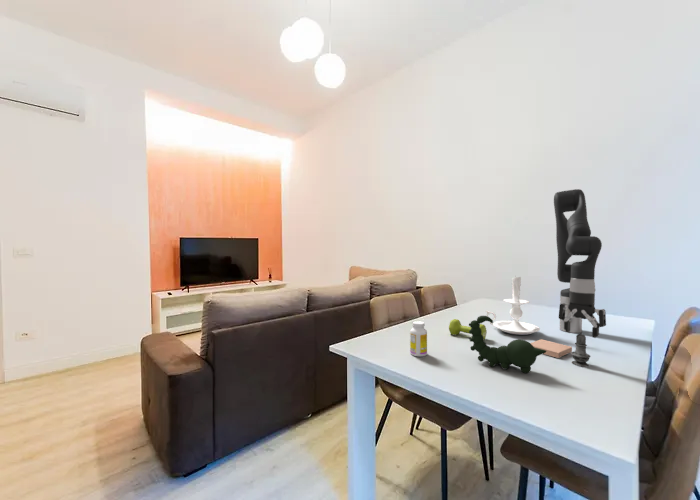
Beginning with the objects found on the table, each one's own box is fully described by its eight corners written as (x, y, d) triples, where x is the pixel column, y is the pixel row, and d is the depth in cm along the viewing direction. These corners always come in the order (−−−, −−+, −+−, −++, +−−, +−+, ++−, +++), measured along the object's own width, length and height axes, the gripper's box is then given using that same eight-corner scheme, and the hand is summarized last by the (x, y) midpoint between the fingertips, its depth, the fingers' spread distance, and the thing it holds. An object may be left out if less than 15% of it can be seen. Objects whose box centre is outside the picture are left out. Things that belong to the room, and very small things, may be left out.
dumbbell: (447, 335, 155) (447, 320, 155) (455, 331, 161) (455, 317, 160) (480, 343, 143) (480, 327, 143) (488, 339, 149) (488, 323, 148)
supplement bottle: (427, 352, 132) (428, 321, 131) (426, 358, 125) (426, 325, 125) (411, 350, 134) (411, 319, 133) (408, 356, 128) (409, 323, 127)
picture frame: (541, 339, 141) (526, 344, 134) (572, 346, 131) (558, 352, 124) (540, 344, 141) (526, 349, 134) (571, 352, 131) (558, 358, 124)
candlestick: (491, 323, 176) (492, 272, 175) (543, 331, 160) (545, 275, 159) (478, 331, 161) (479, 275, 160) (534, 341, 145) (535, 279, 144)
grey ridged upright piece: (593, 367, 116) (594, 334, 115) (575, 366, 117) (576, 333, 116) (585, 361, 122) (586, 330, 121) (567, 360, 123) (568, 329, 122)
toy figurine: (468, 367, 120) (545, 381, 104) (464, 317, 120) (540, 322, 104) (477, 360, 127) (550, 371, 111) (473, 312, 128) (546, 316, 111)
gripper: (556, 289, 122) (555, 331, 123) (601, 294, 110) (600, 341, 111) (565, 287, 126) (564, 328, 127) (609, 292, 114) (608, 337, 115)
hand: (580, 334), depth 119 cm, fingers open, 8 cm apart
